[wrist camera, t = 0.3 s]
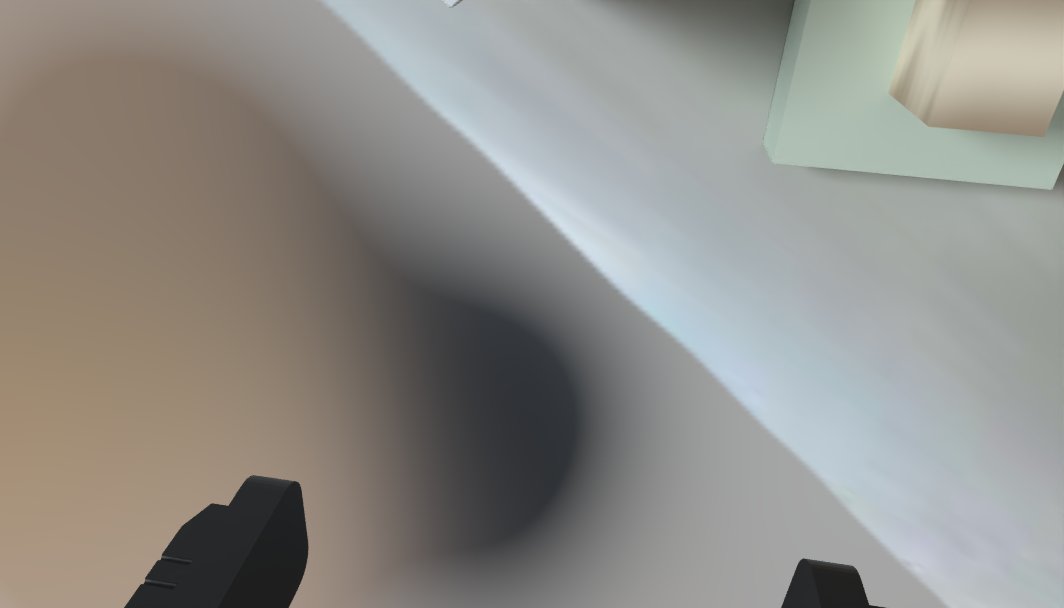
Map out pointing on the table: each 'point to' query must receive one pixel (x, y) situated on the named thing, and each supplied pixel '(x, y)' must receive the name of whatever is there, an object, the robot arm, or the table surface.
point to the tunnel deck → (883, 107)
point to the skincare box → (451, 2)
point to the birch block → (983, 64)
